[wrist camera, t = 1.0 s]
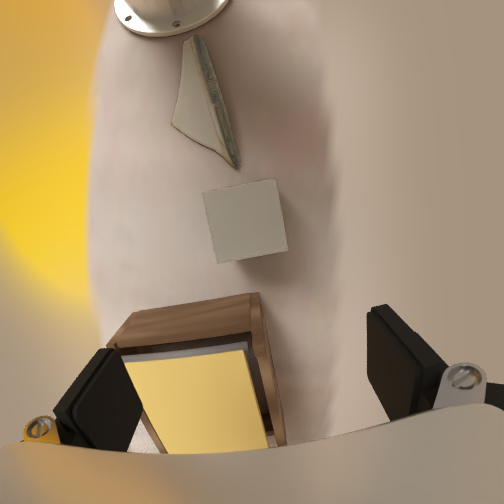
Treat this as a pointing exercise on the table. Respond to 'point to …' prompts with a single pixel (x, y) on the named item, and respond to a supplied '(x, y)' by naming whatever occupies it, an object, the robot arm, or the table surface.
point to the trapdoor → (200, 398)
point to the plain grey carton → (245, 220)
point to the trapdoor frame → (198, 327)
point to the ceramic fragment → (203, 103)
